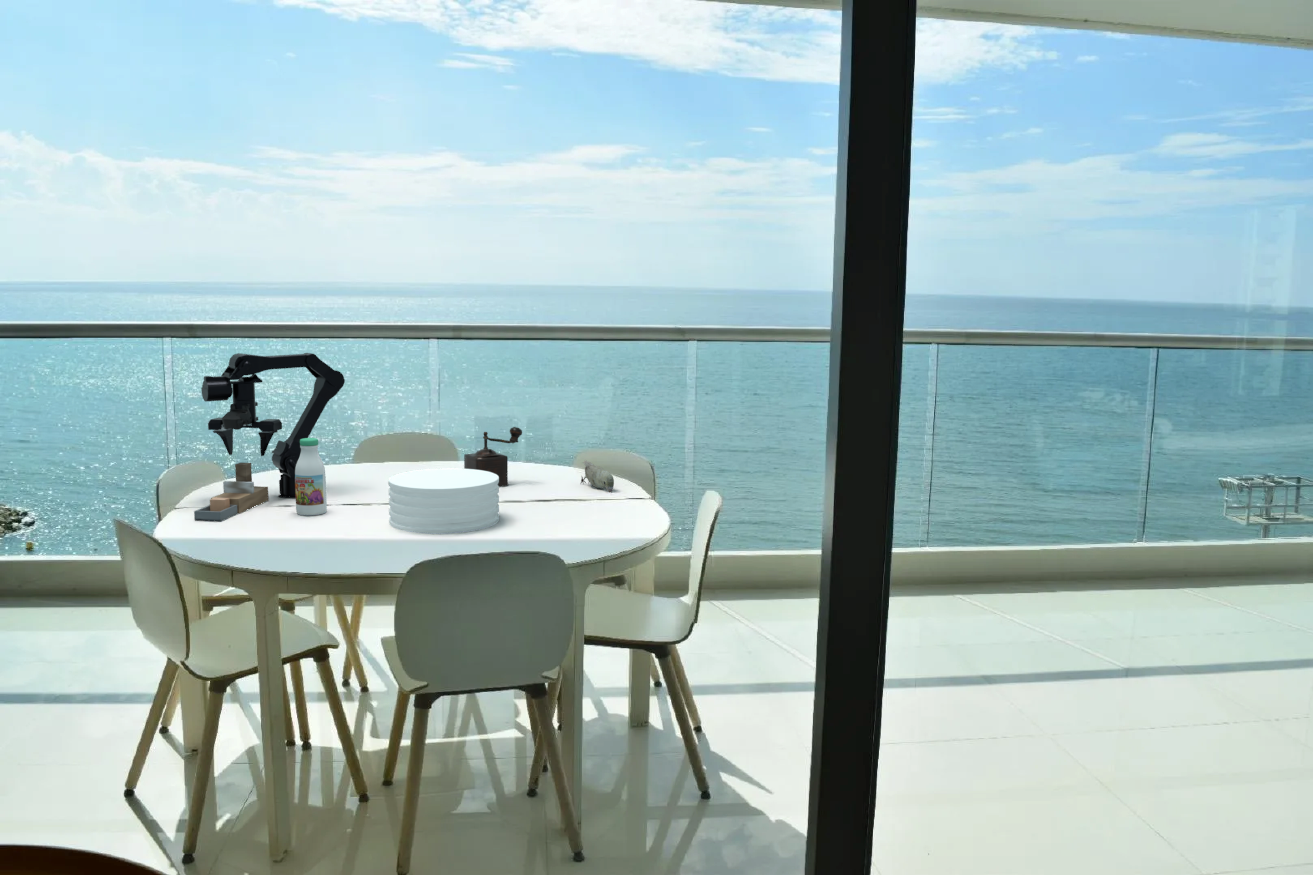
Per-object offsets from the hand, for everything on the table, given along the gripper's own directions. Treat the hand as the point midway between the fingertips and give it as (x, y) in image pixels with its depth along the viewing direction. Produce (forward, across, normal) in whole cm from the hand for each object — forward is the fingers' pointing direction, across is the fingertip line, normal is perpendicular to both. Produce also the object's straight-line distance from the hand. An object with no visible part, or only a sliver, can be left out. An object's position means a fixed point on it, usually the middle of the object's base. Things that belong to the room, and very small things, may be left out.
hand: (246, 455), depth 276 cm
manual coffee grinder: (+13, +61, +35) cm, 72 cm away
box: (+13, +1, -20) cm, 24 cm away
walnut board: (+13, +1, -7) cm, 15 cm away
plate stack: (+13, +60, -14) cm, 63 cm away
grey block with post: (+9, +1, -5) cm, 11 cm away
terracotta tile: (+10, +1, -16) cm, 20 cm away
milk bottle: (+13, +23, -11) cm, 29 cm away
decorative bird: (+13, +93, +35) cm, 101 cm away
